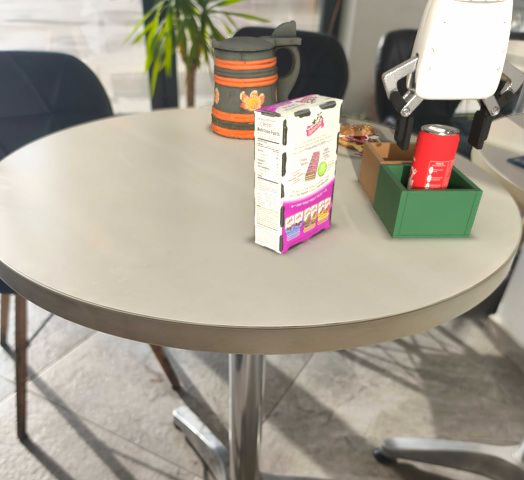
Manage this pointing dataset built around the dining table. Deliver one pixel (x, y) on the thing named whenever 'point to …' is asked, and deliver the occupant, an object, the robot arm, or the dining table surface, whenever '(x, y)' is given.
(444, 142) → the beverage can
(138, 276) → the dining table surface
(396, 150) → the paper bin
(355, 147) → the hamburger
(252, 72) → the beer stein
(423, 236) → the bin
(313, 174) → the candy bar box
